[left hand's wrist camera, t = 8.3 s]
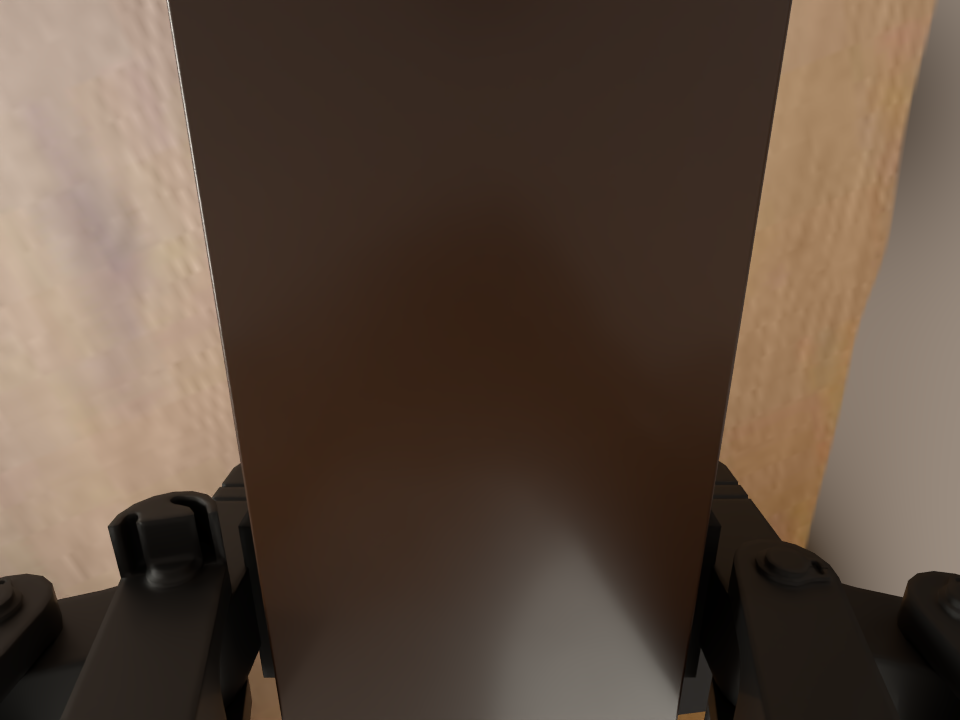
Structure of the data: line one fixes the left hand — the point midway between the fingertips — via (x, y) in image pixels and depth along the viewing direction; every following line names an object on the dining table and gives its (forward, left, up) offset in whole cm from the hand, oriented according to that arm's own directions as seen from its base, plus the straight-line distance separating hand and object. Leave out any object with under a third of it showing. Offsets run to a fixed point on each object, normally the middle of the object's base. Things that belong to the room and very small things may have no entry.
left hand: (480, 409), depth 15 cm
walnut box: (+8, +1, -1) cm, 8 cm away
